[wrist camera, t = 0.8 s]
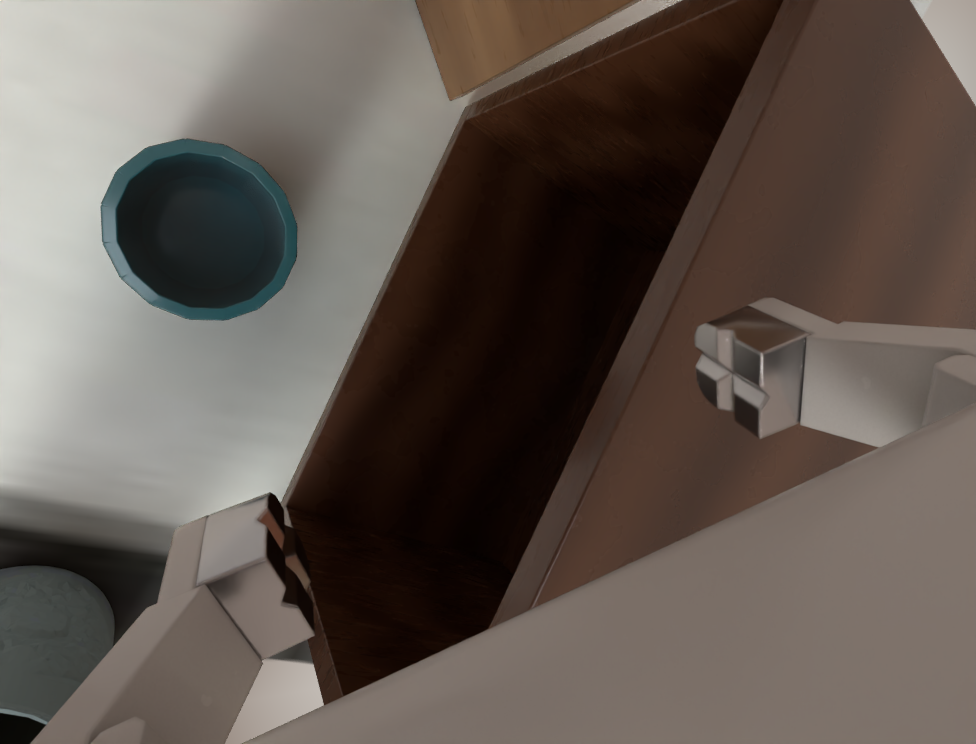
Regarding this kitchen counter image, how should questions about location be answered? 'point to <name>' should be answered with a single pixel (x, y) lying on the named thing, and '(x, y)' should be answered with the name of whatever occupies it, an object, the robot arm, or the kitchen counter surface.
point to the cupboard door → (502, 34)
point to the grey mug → (46, 644)
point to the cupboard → (621, 310)
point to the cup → (199, 230)
